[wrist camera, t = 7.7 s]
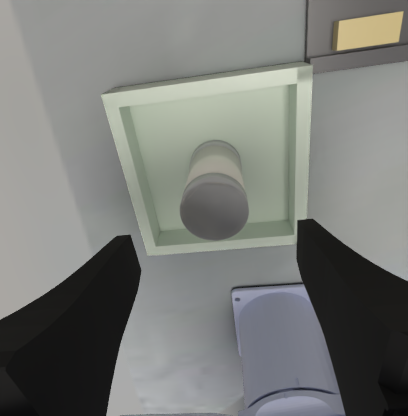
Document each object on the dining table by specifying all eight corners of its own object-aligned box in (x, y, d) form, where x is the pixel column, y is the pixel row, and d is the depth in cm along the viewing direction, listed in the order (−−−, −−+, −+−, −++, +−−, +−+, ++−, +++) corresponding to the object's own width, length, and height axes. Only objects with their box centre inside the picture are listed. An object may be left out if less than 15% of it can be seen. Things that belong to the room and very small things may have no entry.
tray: (297, 224, 24) (305, 243, 21) (153, 236, 25) (147, 256, 23) (301, 61, 18) (313, 65, 16) (114, 87, 19) (100, 94, 17)
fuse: (241, 185, 22) (249, 239, 16) (193, 188, 22) (184, 242, 16) (240, 137, 20) (248, 178, 14) (187, 141, 20) (175, 183, 14)
